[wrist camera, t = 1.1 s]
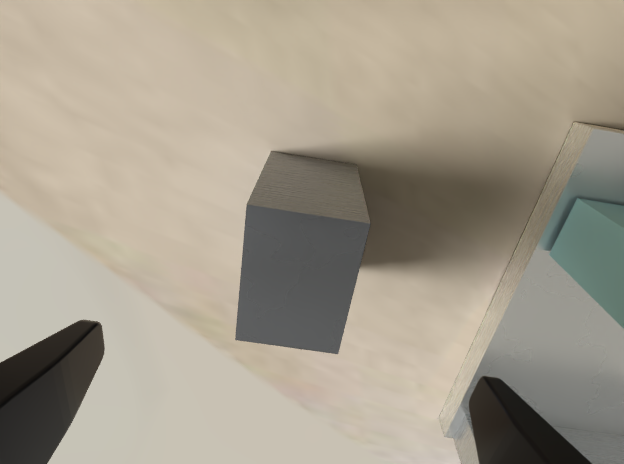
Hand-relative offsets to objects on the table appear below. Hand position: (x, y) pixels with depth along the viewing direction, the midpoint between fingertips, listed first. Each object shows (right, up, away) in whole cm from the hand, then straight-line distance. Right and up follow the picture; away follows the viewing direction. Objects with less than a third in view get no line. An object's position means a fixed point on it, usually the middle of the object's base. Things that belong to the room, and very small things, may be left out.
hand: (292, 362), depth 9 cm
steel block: (0, +4, +8) cm, 9 cm away
